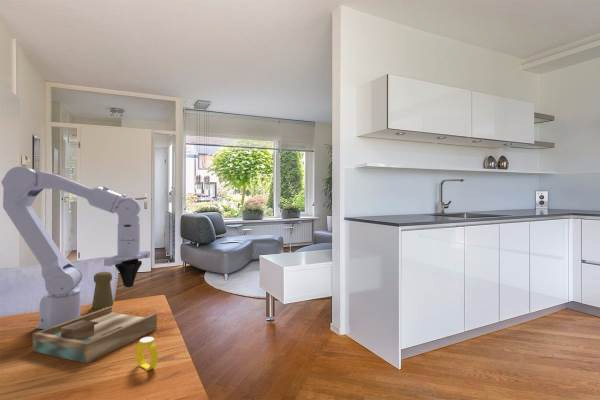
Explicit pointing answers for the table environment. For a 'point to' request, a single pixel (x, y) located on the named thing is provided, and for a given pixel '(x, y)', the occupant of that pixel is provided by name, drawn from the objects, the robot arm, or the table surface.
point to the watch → (153, 352)
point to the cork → (102, 290)
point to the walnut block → (78, 330)
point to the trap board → (106, 338)
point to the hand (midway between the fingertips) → (128, 286)
